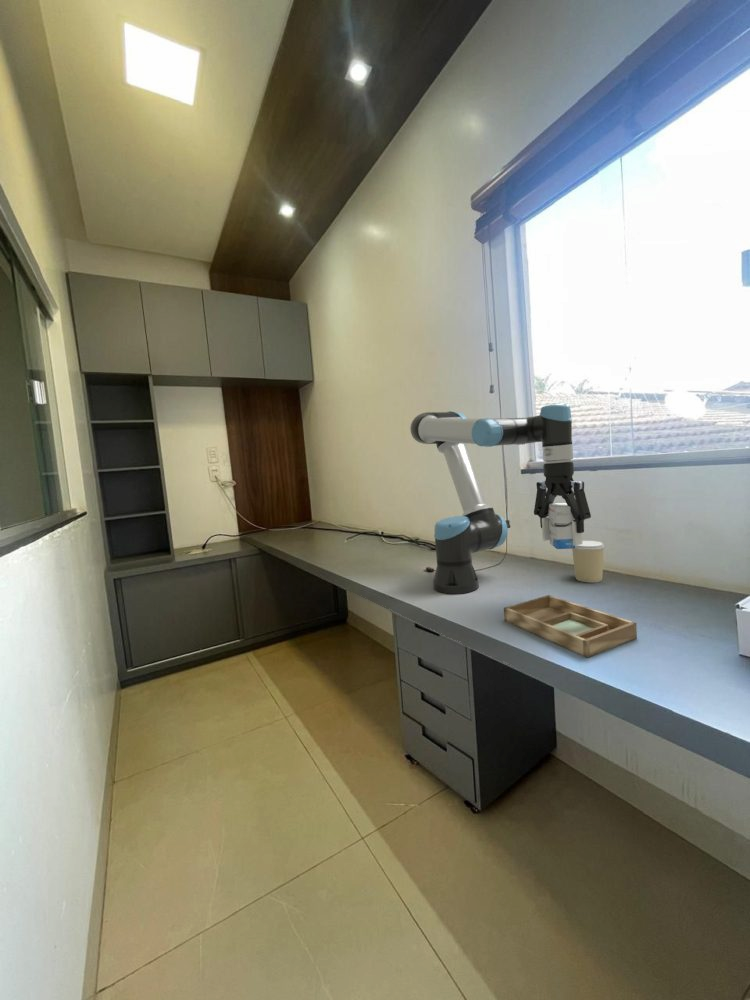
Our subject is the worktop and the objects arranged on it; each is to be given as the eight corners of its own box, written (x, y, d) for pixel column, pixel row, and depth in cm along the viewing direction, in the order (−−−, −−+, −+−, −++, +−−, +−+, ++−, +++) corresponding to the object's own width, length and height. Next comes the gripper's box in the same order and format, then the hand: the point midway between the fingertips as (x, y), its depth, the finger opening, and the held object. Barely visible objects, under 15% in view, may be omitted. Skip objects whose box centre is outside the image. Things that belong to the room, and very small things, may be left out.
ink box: (576, 549, 106) (574, 505, 105) (556, 549, 107) (554, 506, 106) (567, 542, 114) (565, 501, 113) (549, 543, 115) (547, 503, 114)
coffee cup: (601, 574, 134) (599, 540, 133) (608, 583, 125) (607, 546, 124) (570, 574, 137) (569, 540, 136) (575, 583, 128) (574, 546, 127)
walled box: (504, 620, 103) (503, 607, 103) (549, 607, 110) (548, 594, 110) (587, 657, 82) (586, 641, 81) (636, 638, 88) (636, 622, 88)
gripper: (517, 464, 117) (522, 539, 119) (584, 460, 97) (588, 550, 99) (536, 462, 120) (540, 535, 122) (605, 458, 100) (608, 545, 102)
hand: (561, 542), depth 110 cm, fingers closed on ink box, 9 cm apart
